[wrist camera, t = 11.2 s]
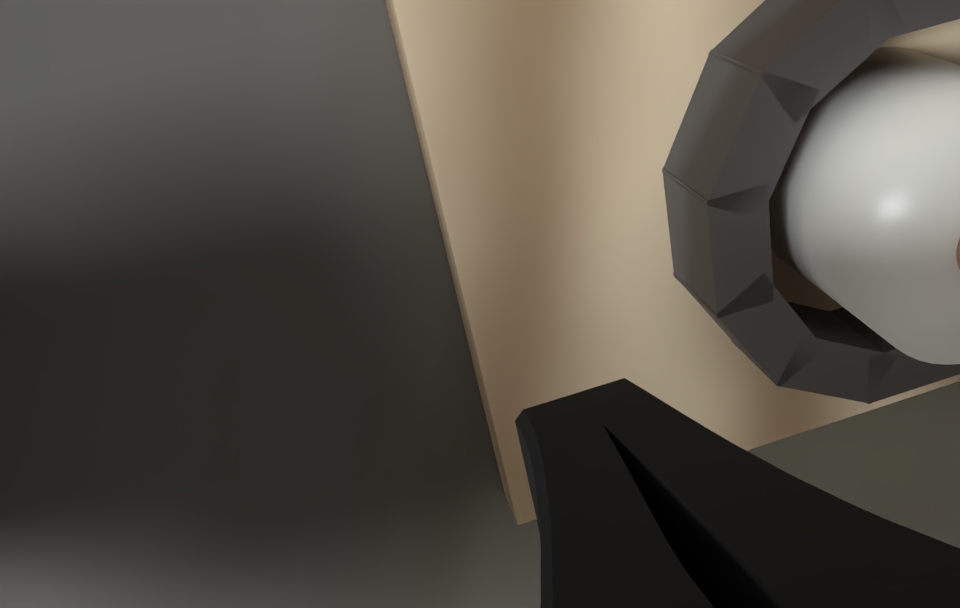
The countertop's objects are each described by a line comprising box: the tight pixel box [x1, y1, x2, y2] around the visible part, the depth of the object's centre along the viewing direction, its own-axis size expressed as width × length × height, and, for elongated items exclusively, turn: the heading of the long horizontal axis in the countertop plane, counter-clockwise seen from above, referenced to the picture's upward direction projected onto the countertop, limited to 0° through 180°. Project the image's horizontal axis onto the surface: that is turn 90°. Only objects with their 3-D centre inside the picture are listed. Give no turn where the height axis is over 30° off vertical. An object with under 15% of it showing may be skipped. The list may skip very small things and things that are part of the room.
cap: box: [769, 48, 960, 365], centre depth 17 cm, size 5×5×5 cm
